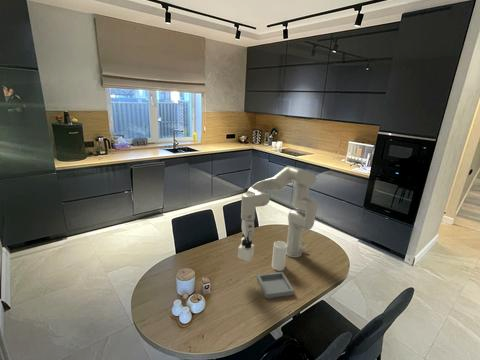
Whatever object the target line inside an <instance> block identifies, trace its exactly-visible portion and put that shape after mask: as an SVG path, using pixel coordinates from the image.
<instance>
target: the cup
mask: <svg viewBox="0 0 480 360" xmlns="http://www.w3.org/2000/svg"><path fill="white" fill-rule="evenodd" d="M286 252H287V242H285V241H282V240H277V241H274V242H273V249H272V259H271V269H273V270H275V271H278V272H282V271H283V270H285V267H286V260H287V259H286V258H287V255H286Z"/></svg>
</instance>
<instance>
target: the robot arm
mask: <svg viewBox="0 0 480 360" xmlns="http://www.w3.org/2000/svg"><path fill="white" fill-rule="evenodd" d="M290 182H293V183H294V185H295V190H294V196H293V202H292V205H293V207H294V208H295V209H291V210H290V211H288V212H289V213H288V215H287V222H288V228H287V236H286V244H287V252H286V257H288V258H289V257H290V258H293V259H294V258H295V259H296V258H300V257H301V256H302V255H303V251H307V246H303V245H302V239H303V238H302V237H303V230H306V231H310V230H312V228H313V227H314V225H315V220H316V215H317V211H318V203H317V201H316V200H315V199H313V198H311V197H309V193H310V187H313V186H315V185H316V183H317V176H316V174H315V173H313V172H312V171H311V172H310V171H307V170H304V169H302V168H298V167H295V166H292V165H287V166H285V167H284V168H282V169H281V170H280V171H279V172H277V173H276V174H275V175H273V176H272V177H270V178H266V179H263V180H260V181H258V182H256V183H254V184H252V185H251V186H250V187H249V188H248V189H247V191H246V192H245V193H243V194H242V195H241V209H240V218H241V219H240V220H241V232H242V233H241V234H242V235H241V239H242V238H243V237H246V242H245V248H251V241H252V242H253V238H255V219H256V208H257V207H265V206H267V205H268V204H270V201H271V198H270V195H269V194H267V193H266V191H268V192H269V191H281V190H283V188H284V187H286V186H288V184H290ZM247 238H249V239H248V240H247Z"/></svg>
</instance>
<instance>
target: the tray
mask: <svg viewBox="0 0 480 360" xmlns="http://www.w3.org/2000/svg"><path fill="white" fill-rule="evenodd" d="M256 280H257V282H258V285H259V287H260V289H261V292H262V294H263V296H264V298H265V299H266V300H269V299H277V298H282V297H289V296H294V295H295V289H294V287H293V286H292V284H291V283H290V281H289V279H288V278H287V276H286V275H285V273H284V272H283V271H278V272H268V273H260V274H256Z"/></svg>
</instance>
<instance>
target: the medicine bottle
mask: <svg viewBox="0 0 480 360" xmlns="http://www.w3.org/2000/svg"><path fill="white" fill-rule="evenodd" d="M248 239H249V238H247V240H248ZM245 242H246V237H243V238H242V237H241V240H240V245H239V246H238V247H237V259H239V260H243V261H246V262H250V261H251V259H252V258H253V257H254V256H255V244H253V240H252V241H251V248H245Z"/></svg>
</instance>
